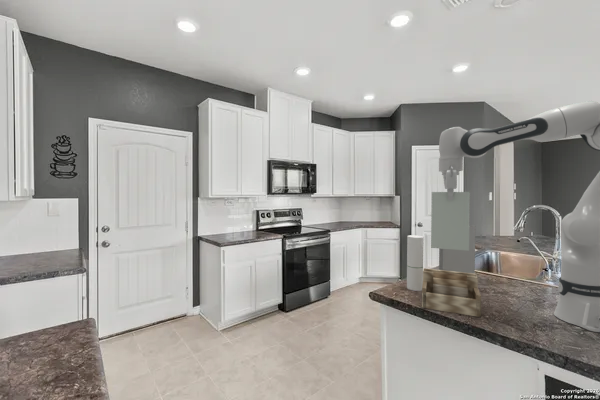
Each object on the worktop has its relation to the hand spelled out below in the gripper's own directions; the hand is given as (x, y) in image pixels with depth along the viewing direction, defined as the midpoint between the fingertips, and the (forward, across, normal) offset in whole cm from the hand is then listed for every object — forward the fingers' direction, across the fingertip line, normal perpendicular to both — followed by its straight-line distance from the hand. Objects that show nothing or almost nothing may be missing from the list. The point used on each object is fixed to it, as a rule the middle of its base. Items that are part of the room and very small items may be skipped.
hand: (450, 200), depth 118 cm
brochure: (+43, +21, -4) cm, 48 cm away
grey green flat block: (+21, 0, 0) cm, 21 cm away
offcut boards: (+43, -7, 0) cm, 43 cm away
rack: (+43, -4, 0) cm, 43 cm away
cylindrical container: (+43, +10, +14) cm, 46 cm away
